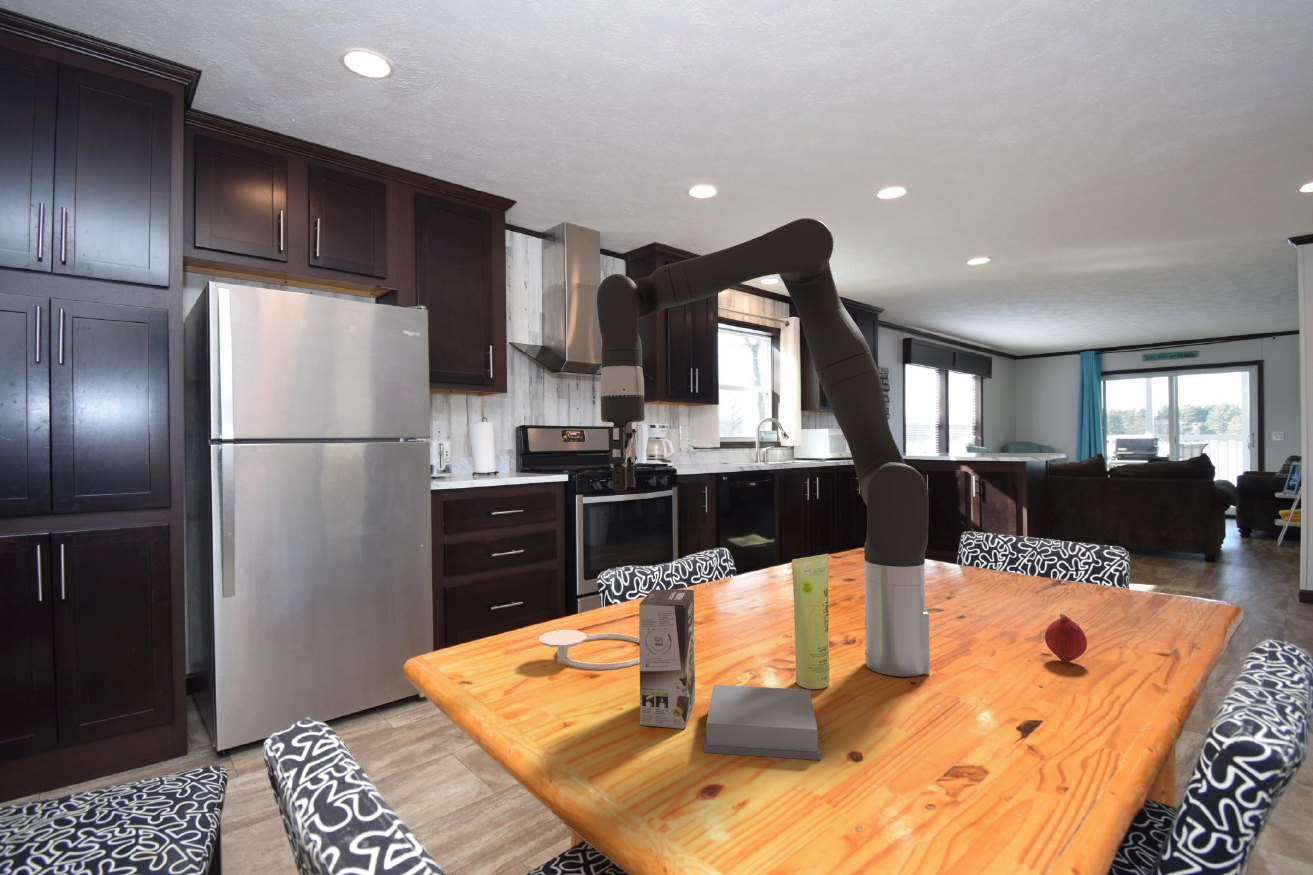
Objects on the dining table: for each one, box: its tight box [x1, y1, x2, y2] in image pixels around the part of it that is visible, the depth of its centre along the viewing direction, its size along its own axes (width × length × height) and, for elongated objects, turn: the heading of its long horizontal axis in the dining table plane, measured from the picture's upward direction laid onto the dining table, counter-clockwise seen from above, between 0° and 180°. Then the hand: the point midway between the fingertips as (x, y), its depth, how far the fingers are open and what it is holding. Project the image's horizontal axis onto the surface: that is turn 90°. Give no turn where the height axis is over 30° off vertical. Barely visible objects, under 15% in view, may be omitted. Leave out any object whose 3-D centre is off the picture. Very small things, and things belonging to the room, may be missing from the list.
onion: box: [1044, 612, 1088, 663], centre depth 106 cm, size 6×6×8 cm
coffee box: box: [638, 588, 696, 730], centre depth 88 cm, size 9×6×16 cm
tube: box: [791, 553, 830, 690], centre depth 97 cm, size 6×5×20 cm
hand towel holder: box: [538, 629, 640, 671], centre depth 112 cm, size 17×4×20 cm
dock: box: [703, 684, 822, 761], centre depth 82 cm, size 14×13×3 cm
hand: (623, 488), depth 110 cm, fingers open, 8 cm apart
